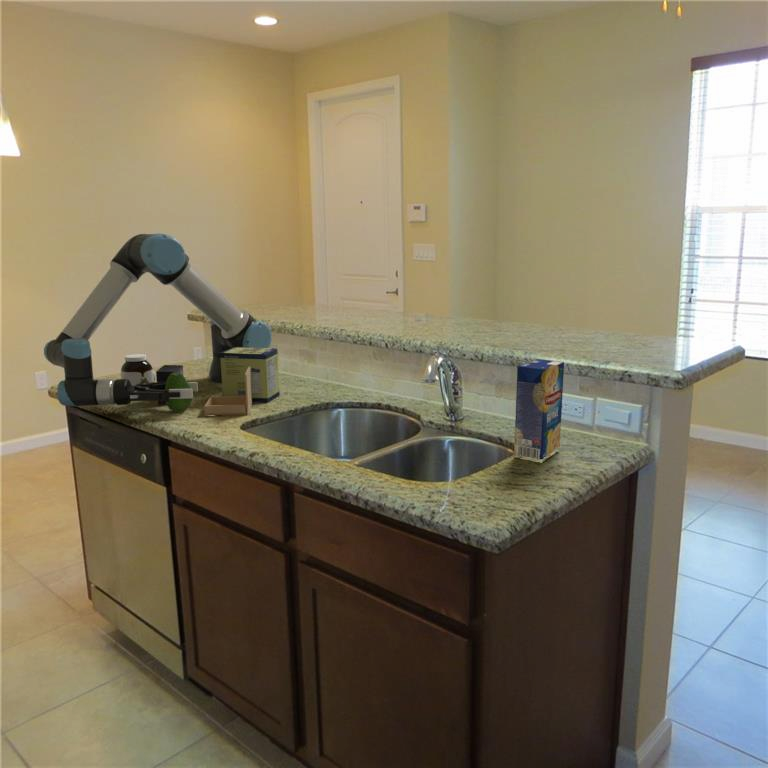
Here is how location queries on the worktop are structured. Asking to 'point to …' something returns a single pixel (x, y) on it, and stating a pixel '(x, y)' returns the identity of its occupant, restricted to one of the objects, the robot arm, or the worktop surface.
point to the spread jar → (137, 369)
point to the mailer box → (231, 402)
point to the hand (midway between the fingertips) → (194, 390)
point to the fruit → (177, 382)
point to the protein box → (261, 369)
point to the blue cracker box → (538, 408)
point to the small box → (167, 373)
